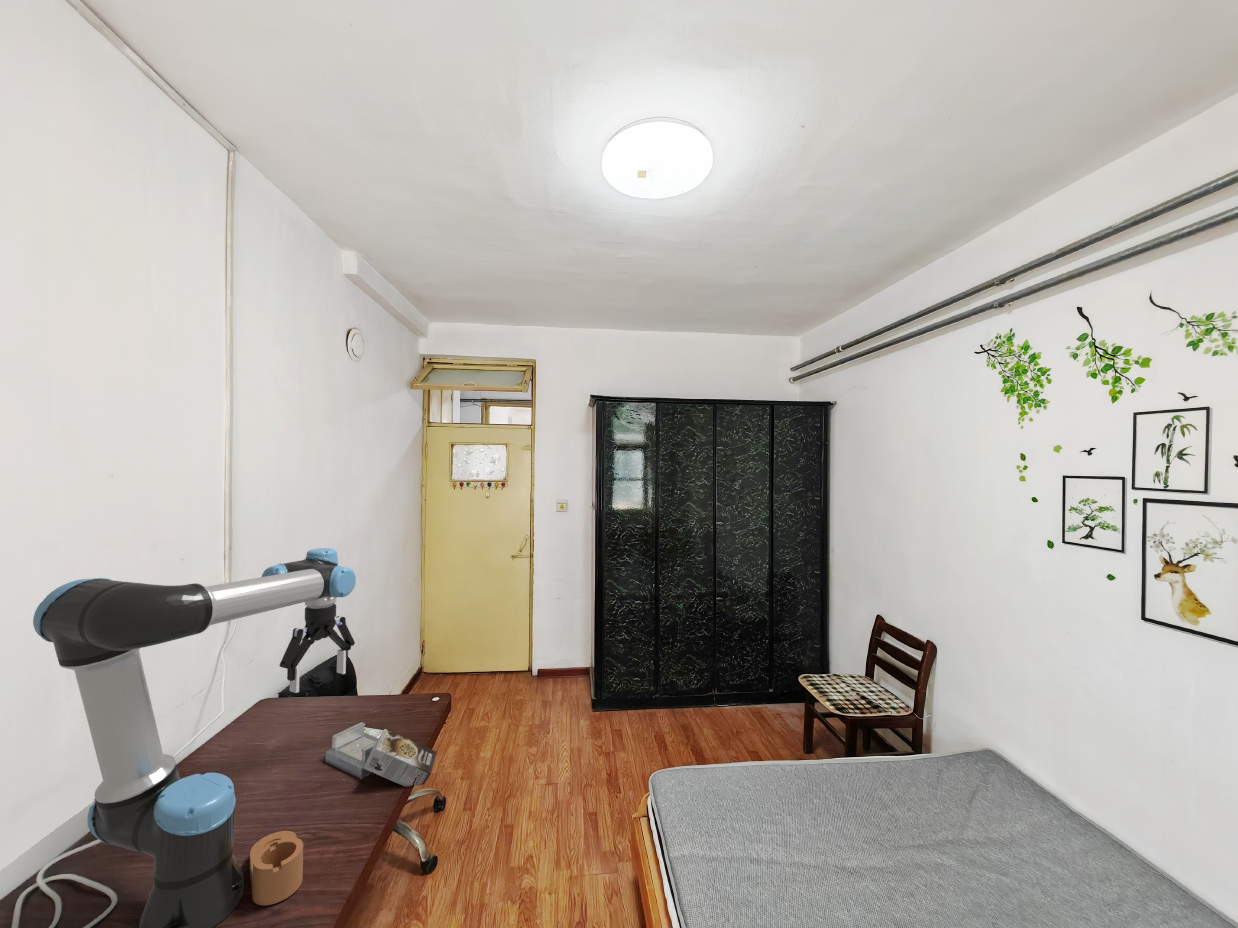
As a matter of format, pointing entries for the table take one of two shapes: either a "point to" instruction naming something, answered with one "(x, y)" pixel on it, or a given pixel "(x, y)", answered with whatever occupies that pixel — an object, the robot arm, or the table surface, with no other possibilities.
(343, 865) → the table surface
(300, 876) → the bracket
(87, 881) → the table surface
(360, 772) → the aluminum channel piece
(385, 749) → the coffee box
